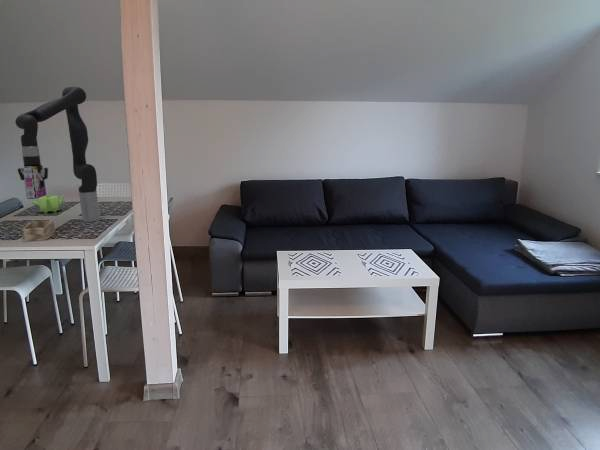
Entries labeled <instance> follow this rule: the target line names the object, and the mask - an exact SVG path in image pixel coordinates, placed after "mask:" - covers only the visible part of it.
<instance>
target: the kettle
mask: <svg viewBox="0 0 600 450" xmlns="http://www.w3.org/2000/svg"><path fill="white" fill-rule="evenodd" d="M65 197H67V195H61V196H60V197H59V195H51V194H46V196H43V197H40V198H37V199H38V201H36V200H34V199H32V200H33V201H32V202H31V204H32V205H35V206H37V207H39V213H42V212H43V214H44V213H45V214H48V212H52V213H53V212H56V213H58V211H60V209H61V205H62V204H63V202H64V198H65ZM59 198H60V199H59ZM57 210H58V211H57Z"/></svg>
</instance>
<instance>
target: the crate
mask: <svg viewBox="0 0 600 450" xmlns="http://www.w3.org/2000/svg"><path fill="white" fill-rule="evenodd" d="M55 230H56V229H55V224H54V219H53V220H41V221H29V222H28V223H27V224H26V225H24V227H22V228H21V229H20V234H21V239H22V242H23V243H25V242H35V241H36V242H37V241H38V242H39V241H47V240H49V239H50V237H52V235H53V234H54V233H55Z"/></svg>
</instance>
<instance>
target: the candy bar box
mask: <svg viewBox="0 0 600 450" xmlns="http://www.w3.org/2000/svg"><path fill="white" fill-rule="evenodd" d="M41 166H42V167H44V166H43V164H41ZM22 168H23V174H24V180H23V181H24V187H25V195H26V199H27V200H34V199H35V200H36V199H39V198H40V197H43V196H46V195H47V192H46V191H47V190H46V183H45V180H44V184H45V186H44V187H43V188H41V184H40V181H41V180H40V179H39V177H38V173H37V171H38V170H37V166H26V167H24V166H22ZM40 173H41V174H42V176H43V177H44V171H43V169H42V170H41V172H40ZM40 173H39V174H40Z"/></svg>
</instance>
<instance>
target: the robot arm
mask: <svg viewBox="0 0 600 450" xmlns="http://www.w3.org/2000/svg"><path fill="white" fill-rule="evenodd" d="M61 93H62V94H61V95H62V97H60V98H58V99H57V98H56V99H54V100H51V101H49V102H45V103H44V104H41V105H39V106H38V107H35V109H33V110H30V111H27V112H24V113H22V114H20V115H18V116H17V117H16V118H15V125H16V127H18V128H19V129H22V130H23V134H21V136H20V143H21V155H22V160H23V167H26V166H37V170H38V171H37V173H38V177H39V179H40V180H41V181H40V184H41V188H43V187H44V186H45V187H46V183H45V184H44V181H45V180H47V179H48V177H49V167H44V166H43V167H42V166H41V165H42V164H41V156H40V150H39V146H38V138H37V136H38V130H39V123H42V122H45V121H47V120H49V119H50V118H52V117H53V116H56V115H59V113H61V112H63V111H65V113H66V119H67V125H68V132H69V139H70V145H71V147H70V148H71V153H72V168H73V169H72V171H73V174H74V176H75V178H76V179H78V180H81V185H80V186H79V187H78V194H79V195H78V196H79V202H80V210H81V217H82V218H81V219H82V222H86V223H91V222H92V223H93V222H98V221H100V220H101V210H100V203H99V202H98V201H99V200H98V195H97V194H98V193H97V187H98V178H97V171H96V168H95V166H94V165H92V164H91V163H90V164H89V163H88V162H87V159H86V151H87V148H88V144H89V133H88V128H87V126H86V123H85V122H84V121H83V118H82V117H81V114H80V111H79V105H81V104H83V103H85V101H86V100H87V94H86V92H85V90H84V89H83V88H81V87H79V86H70V87H69V86H67V87H64V89H63V90H62V92H61ZM23 167H22V168H21V167H20V168H17V172H18V175H19V178H20V180H21V181H24V173H23ZM42 169H43V173H44V177H43V176H42V174H41V173H40V172H41V170H42ZM39 173H40V174H39Z"/></svg>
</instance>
